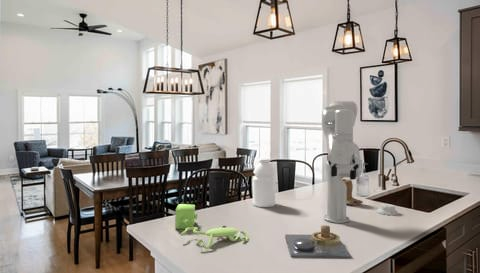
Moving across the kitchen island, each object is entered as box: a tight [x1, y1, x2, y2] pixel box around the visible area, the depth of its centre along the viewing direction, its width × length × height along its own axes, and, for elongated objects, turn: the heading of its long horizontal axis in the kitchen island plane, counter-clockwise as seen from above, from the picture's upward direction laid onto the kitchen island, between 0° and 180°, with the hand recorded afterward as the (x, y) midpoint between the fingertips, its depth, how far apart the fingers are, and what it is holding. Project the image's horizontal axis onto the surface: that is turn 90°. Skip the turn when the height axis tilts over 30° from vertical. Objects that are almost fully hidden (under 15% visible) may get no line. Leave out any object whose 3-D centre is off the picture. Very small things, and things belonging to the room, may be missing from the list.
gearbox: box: [174, 203, 198, 230], centre depth 160 cm, size 18×10×10 cm, turn 3°
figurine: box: [180, 225, 249, 251], centre depth 141 cm, size 18×27×6 cm
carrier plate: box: [284, 231, 351, 258], centre depth 133 cm, size 20×22×4 cm
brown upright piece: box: [341, 178, 364, 206], centre depth 202 cm, size 15×12×15 cm
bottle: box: [252, 157, 277, 208], centre depth 200 cm, size 14×14×28 cm
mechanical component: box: [377, 203, 398, 216], centre depth 182 cm, size 10×4×10 cm
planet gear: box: [316, 224, 335, 240], centre depth 137 cm, size 8×8×6 cm
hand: (343, 177), depth 142 cm, fingers open, 9 cm apart
